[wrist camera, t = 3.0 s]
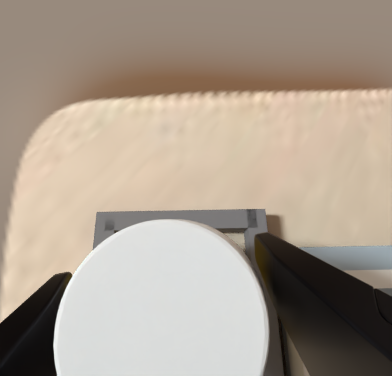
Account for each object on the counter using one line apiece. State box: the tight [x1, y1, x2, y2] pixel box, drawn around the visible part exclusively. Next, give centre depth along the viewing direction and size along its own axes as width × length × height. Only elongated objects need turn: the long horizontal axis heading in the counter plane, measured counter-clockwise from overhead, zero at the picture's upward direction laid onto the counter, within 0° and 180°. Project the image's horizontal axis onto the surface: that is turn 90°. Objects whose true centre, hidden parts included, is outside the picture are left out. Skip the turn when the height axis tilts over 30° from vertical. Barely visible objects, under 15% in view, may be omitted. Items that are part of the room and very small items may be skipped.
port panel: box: [281, 246, 392, 376], centre depth 12 cm, size 11×8×2 cm
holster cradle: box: [93, 209, 284, 376], centre depth 13 cm, size 9×9×1 cm
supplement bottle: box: [53, 219, 270, 376], centre depth 9 cm, size 5×5×10 cm
